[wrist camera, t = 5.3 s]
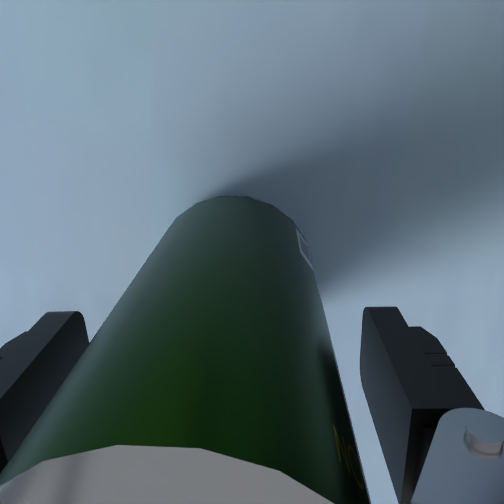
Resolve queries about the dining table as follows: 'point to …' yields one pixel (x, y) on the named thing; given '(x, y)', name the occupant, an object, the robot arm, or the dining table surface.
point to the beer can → (202, 381)
